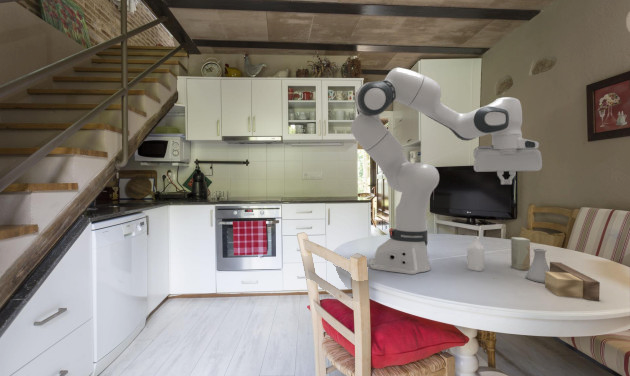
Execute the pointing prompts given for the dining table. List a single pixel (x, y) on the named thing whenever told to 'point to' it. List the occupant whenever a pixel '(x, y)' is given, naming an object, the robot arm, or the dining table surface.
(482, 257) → the white bottle
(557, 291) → the oak block
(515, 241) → the box
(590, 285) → the walnut board
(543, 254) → the flask
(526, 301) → the dining table surface
